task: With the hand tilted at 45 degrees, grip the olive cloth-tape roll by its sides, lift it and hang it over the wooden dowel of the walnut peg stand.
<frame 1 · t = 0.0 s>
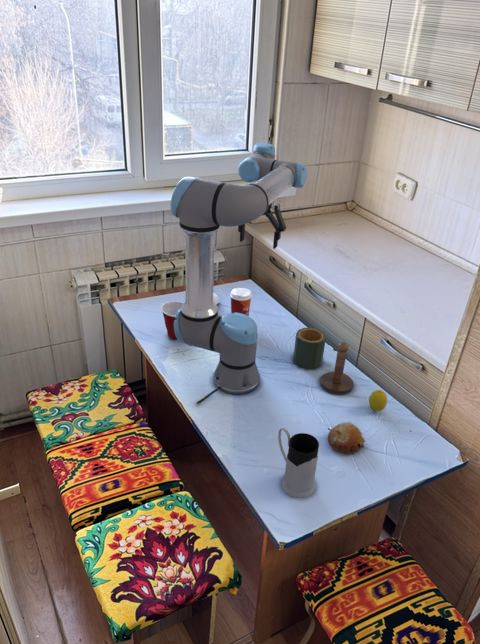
hand: (258, 244, 214), 28 cm above the table, tool pointing down, fingers open, 13 cm apart
plastic cup: (176, 336, 207), on the table
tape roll: (307, 361, 199), on the table
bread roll: (345, 443, 164), on the table
peg stand: (336, 384, 188), on the table
coffee cup: (239, 327, 216), on the table
lemon: (375, 411, 178), on the table
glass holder: (291, 479, 151), on the table
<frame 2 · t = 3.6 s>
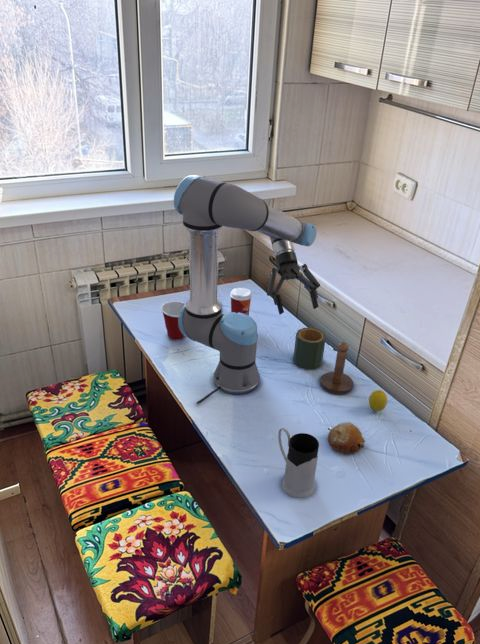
hand: (299, 310, 199), 15 cm above the table, tool tilted 45°, fingers open, 13 cm apart
nothing on the table moved.
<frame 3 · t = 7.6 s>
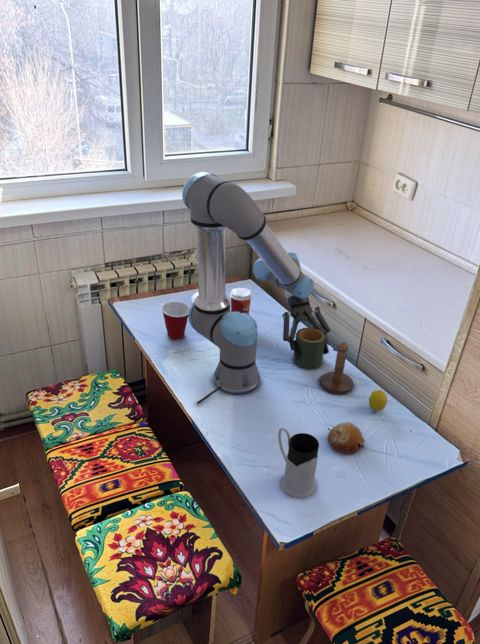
hand: (312, 356, 195), 4 cm above the table, tool tilted 45°, fingers closed on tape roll, 10 cm apart
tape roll: (307, 361, 199), on the table, touching gripper
everything else where it was.
when the fingers open (6 cm above the table, at t = 19.4 s): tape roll stays where it is, resting on peg stand.
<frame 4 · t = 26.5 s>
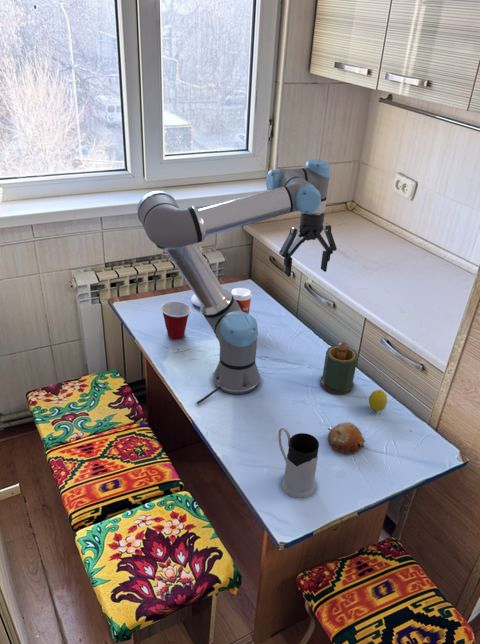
hand: (305, 272, 189), 31 cm above the table, tool pointing down, fingers open, 13 cm apart
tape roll: (337, 381, 188), point 1 cm above the table, touching peg stand
everything else where it was.
at the end: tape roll 0.1 cm off-centre on the peg stand, point 1.5 cm above the peg stand's base; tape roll tilted 0°; the gripper is holding nothing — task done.
